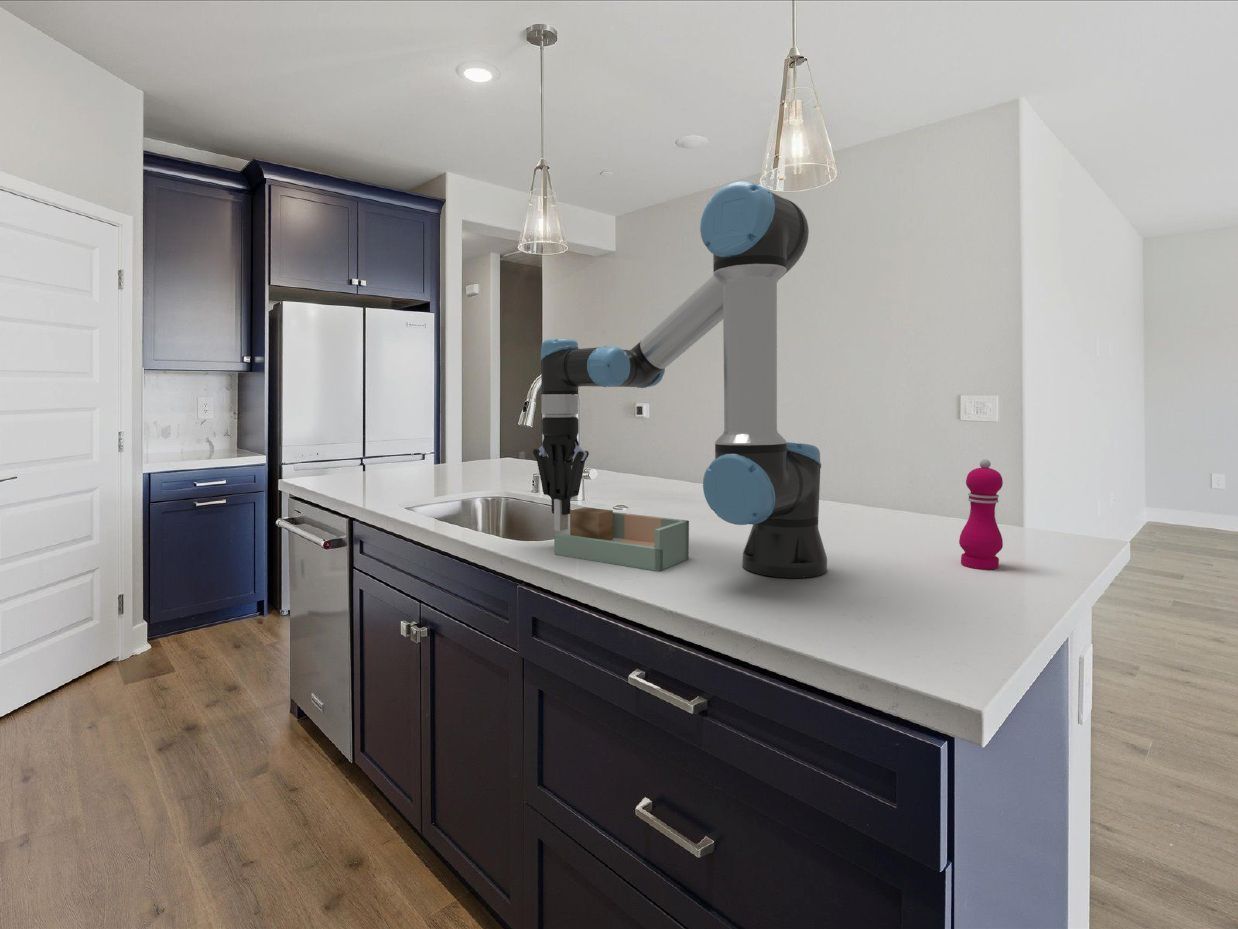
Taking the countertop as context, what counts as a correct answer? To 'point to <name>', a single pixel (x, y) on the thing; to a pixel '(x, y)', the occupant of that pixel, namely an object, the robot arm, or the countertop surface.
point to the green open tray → (632, 543)
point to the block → (592, 523)
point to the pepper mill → (982, 519)
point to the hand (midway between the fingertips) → (561, 529)
